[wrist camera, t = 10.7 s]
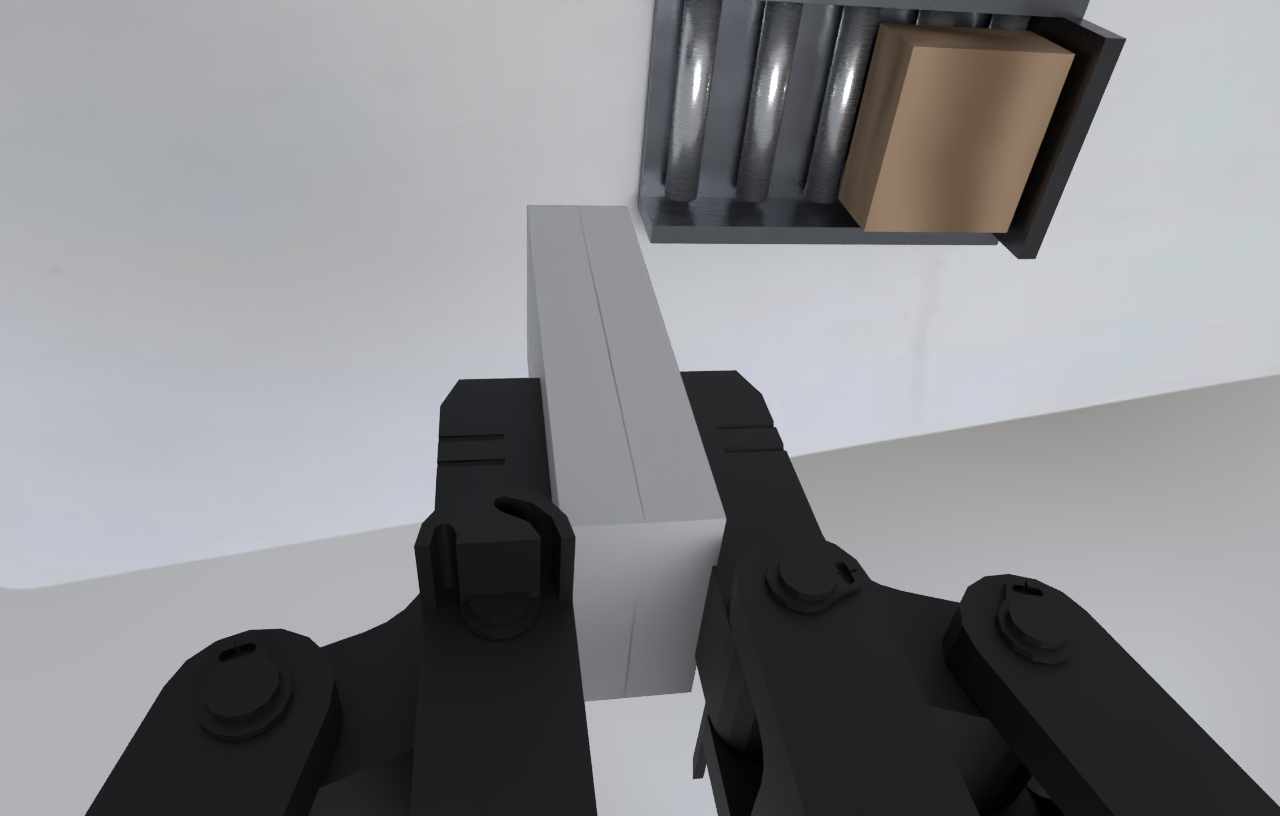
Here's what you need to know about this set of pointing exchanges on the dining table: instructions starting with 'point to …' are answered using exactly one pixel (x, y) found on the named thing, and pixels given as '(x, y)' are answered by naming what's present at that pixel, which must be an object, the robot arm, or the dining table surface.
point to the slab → (950, 127)
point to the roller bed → (794, 127)
